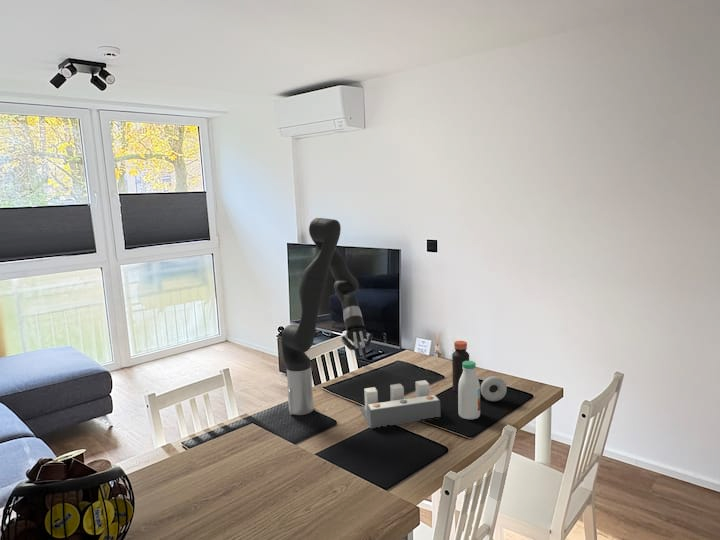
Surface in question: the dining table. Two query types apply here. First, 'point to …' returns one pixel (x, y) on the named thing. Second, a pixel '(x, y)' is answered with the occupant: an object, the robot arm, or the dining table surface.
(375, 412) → the block
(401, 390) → the key middle
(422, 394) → the key right
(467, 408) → the milk bottle
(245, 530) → the dining table surface
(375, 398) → the key left
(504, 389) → the donut
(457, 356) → the vinegar
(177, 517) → the dining table surface
